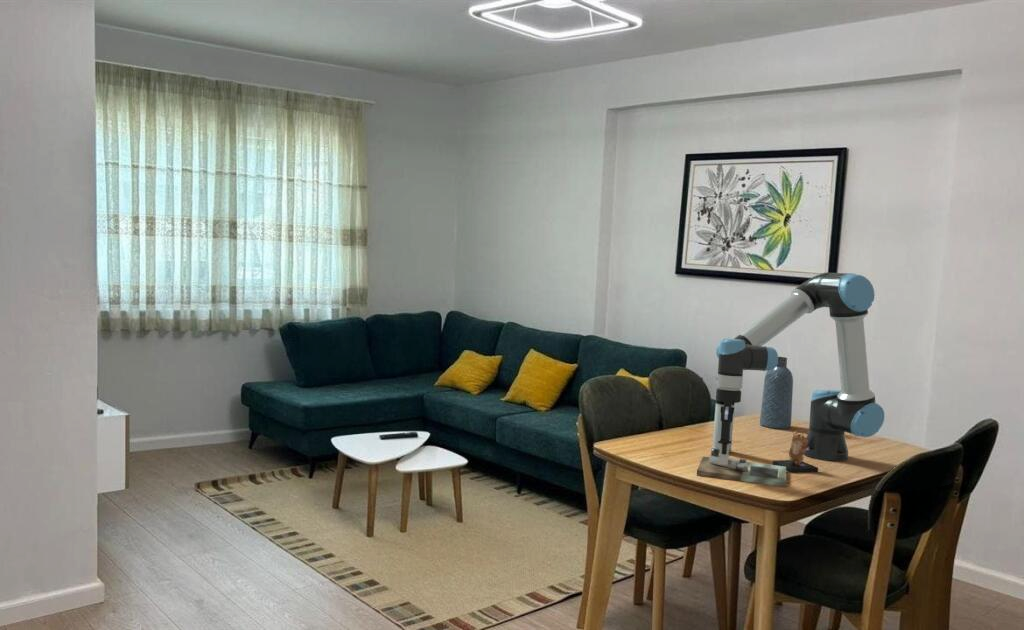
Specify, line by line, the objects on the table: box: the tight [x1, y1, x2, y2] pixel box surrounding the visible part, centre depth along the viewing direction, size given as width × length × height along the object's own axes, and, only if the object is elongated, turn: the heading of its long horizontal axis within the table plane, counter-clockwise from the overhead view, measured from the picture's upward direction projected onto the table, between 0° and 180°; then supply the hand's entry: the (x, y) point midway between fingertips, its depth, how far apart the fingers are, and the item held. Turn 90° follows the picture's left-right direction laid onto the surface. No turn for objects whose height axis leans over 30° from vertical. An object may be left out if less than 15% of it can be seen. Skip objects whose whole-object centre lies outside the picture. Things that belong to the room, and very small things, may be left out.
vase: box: [759, 356, 794, 430], centre depth 343 cm, size 12×12×28 cm
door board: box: [696, 456, 787, 488], centre depth 264 cm, size 26×20×4 cm
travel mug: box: [712, 400, 735, 454], centre depth 292 cm, size 6×7×20 cm
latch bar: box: [708, 447, 750, 471], centre depth 264 cm, size 13×4×4 cm, turn 45°
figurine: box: [771, 430, 819, 474], centre depth 273 cm, size 10×10×12 cm
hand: (723, 464), depth 263 cm, fingers closed
